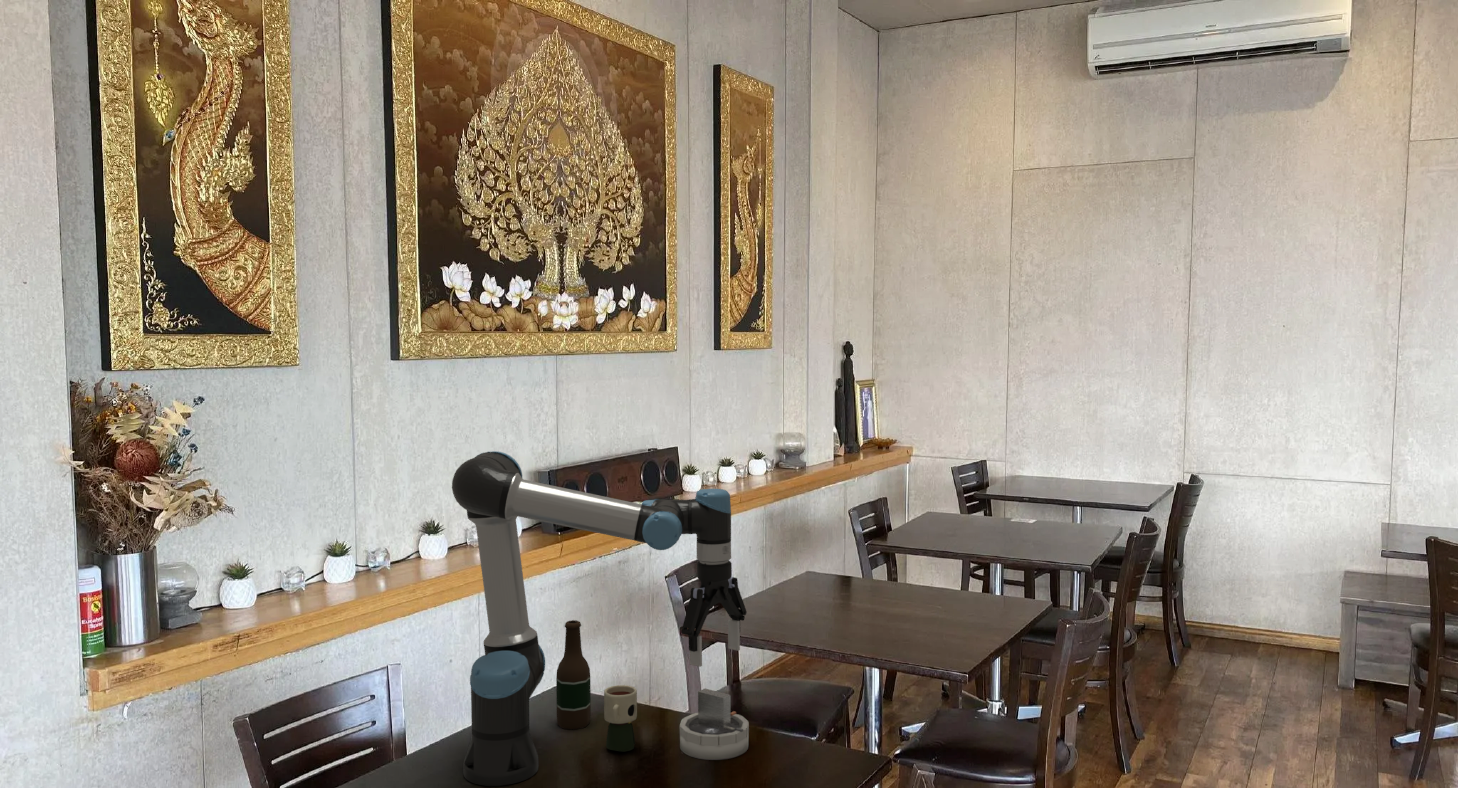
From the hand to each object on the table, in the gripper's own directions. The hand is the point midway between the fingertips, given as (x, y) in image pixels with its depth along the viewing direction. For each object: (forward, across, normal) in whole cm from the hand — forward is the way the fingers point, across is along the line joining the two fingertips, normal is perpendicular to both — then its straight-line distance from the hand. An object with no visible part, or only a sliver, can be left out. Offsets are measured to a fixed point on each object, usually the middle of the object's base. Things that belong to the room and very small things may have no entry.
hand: (715, 657), depth 225 cm
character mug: (+20, -14, +16) cm, 29 cm away
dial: (+16, 0, 0) cm, 16 cm away
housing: (+20, 0, 0) cm, 20 cm away
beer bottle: (+20, -10, +34) cm, 41 cm away
